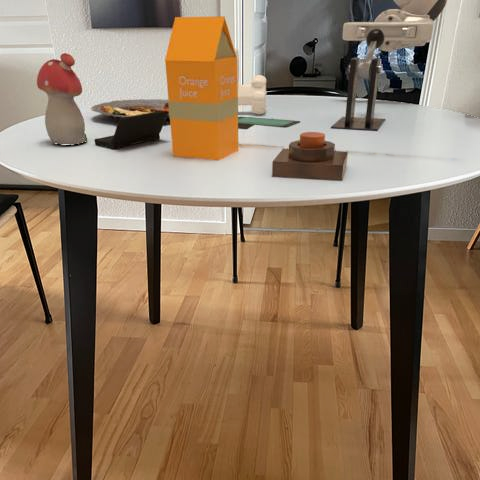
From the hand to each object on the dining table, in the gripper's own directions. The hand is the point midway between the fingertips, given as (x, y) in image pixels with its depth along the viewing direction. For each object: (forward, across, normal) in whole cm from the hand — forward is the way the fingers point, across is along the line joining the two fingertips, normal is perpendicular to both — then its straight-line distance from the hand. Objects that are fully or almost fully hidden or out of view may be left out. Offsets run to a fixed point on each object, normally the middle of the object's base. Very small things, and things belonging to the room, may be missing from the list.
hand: (383, 32), depth 110 cm
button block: (+56, -1, +16) cm, 59 cm away
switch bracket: (+22, 0, +16) cm, 28 cm away
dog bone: (+11, -31, +17) cm, 37 cm away
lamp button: (+56, -1, +13) cm, 58 cm away
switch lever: (+16, 0, +5) cm, 17 cm away
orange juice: (+50, -21, +17) cm, 57 cm away
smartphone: (+25, -20, +17) cm, 36 cm away
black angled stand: (+47, -38, +17) cm, 63 cm away
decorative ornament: (+50, -49, +17) cm, 72 cm away
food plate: (+21, -49, +17) cm, 56 cm away
